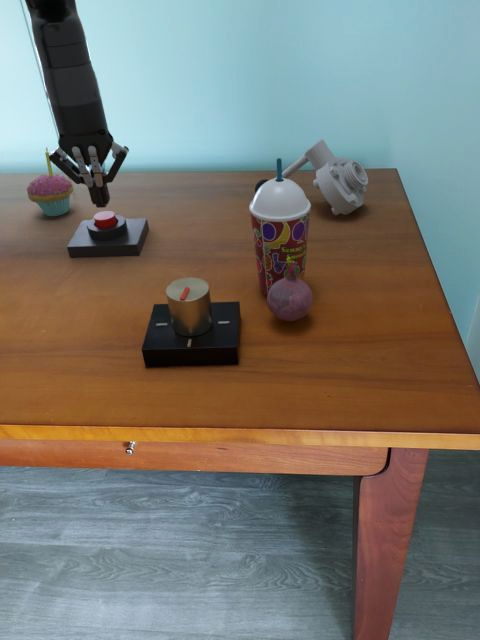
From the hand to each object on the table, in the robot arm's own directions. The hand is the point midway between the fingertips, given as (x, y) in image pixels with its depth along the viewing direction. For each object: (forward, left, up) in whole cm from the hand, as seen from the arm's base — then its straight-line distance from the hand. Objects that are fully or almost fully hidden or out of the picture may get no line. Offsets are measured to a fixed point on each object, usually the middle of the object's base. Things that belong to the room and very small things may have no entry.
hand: (102, 205), depth 90 cm
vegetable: (+31, -25, -7) cm, 41 cm away
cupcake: (-14, +14, -7) cm, 21 cm away
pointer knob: (+18, -29, -4) cm, 35 cm away
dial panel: (+18, -29, -7) cm, 35 cm away
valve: (+36, +12, -7) cm, 39 cm away
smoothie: (+30, -17, -7) cm, 35 cm away
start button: (0, 0, -4) cm, 4 cm away
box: (0, 0, -7) cm, 7 cm away
